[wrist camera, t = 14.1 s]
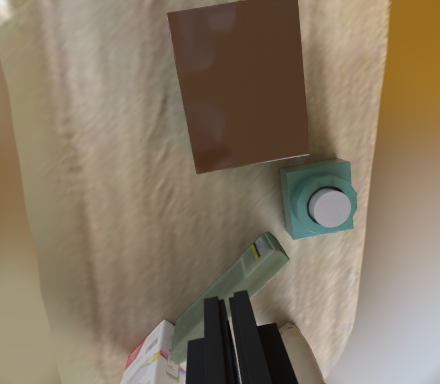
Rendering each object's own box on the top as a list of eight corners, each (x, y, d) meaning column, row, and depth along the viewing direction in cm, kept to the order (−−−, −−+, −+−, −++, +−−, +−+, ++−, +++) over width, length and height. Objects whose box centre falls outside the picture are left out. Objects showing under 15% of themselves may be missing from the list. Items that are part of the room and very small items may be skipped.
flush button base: (279, 168, 37) (291, 175, 32) (338, 158, 38) (358, 163, 33) (286, 230, 40) (298, 246, 35) (341, 220, 40) (361, 234, 35)
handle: (267, 319, 43) (300, 420, 28) (308, 314, 43) (362, 412, 29) (267, 345, 44) (300, 455, 30) (308, 341, 44) (360, 447, 30)
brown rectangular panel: (166, 15, 25) (165, 12, 24) (294, -5, 25) (297, -9, 25) (196, 172, 29) (196, 174, 28) (307, 153, 29) (310, 154, 28)
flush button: (306, 191, 34) (312, 194, 32) (342, 184, 34) (350, 188, 32) (309, 225, 35) (315, 230, 33) (344, 218, 35) (351, 223, 33)
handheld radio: (280, 242, 40) (164, 355, 43) (264, 227, 39) (147, 343, 43) (295, 264, 33) (156, 395, 37) (275, 246, 33) (137, 381, 36)
